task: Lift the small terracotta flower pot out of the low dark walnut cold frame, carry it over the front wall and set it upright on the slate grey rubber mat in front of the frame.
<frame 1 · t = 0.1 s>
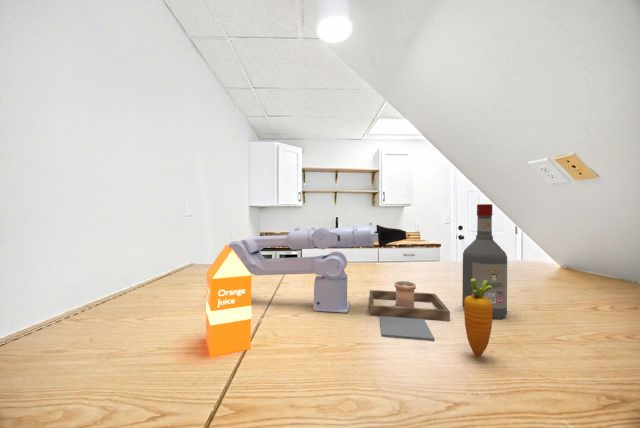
hand: (404, 234, 76), 22 cm above the worktop, tool horizontal, fingers open, 7 cm apart
carrot: (477, 358, 52), on the worktop
orange juice: (227, 344, 57), on the worktop
terracotta pot: (404, 308, 79), resting in cold frame
potting mat: (404, 328, 65), on the worktop
liquor: (483, 313, 76), on the worktop
cold frame: (404, 307, 79), on the worktop
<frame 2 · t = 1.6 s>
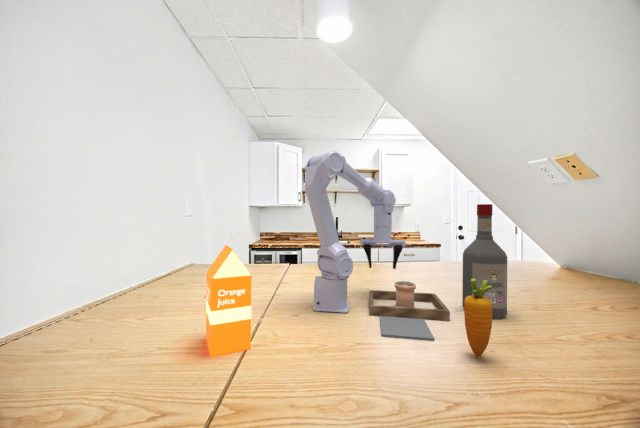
hand: (382, 268, 90), 9 cm above the worktop, tool pointing down, fingers open, 7 cm apart
nothing on the worktop moved.
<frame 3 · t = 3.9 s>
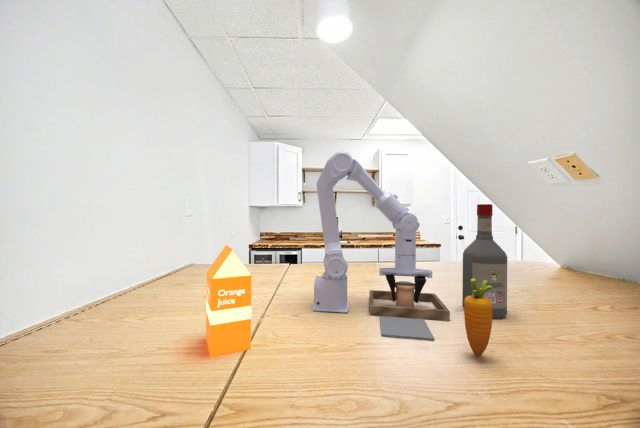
hand: (404, 301, 79), 2 cm above the worktop, tool pointing down, fingers closed on terracotta pot, 6 cm apart
terracotta pot: (404, 308, 79), resting in cold frame, touching gripper
everything else where it was.
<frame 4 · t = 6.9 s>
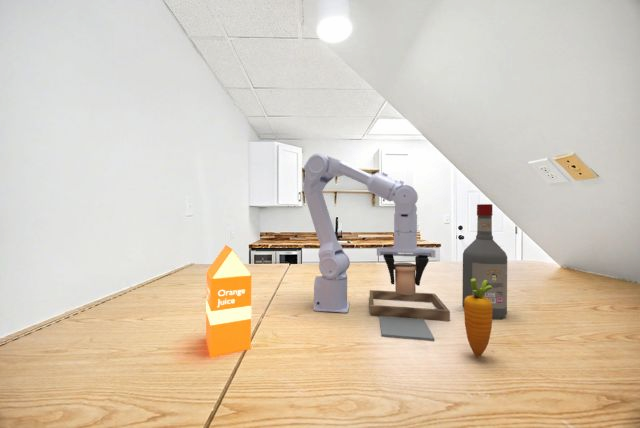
hand: (404, 284, 71), 9 cm above the worktop, tool pointing down, fingers closed on terracotta pot, 6 cm apart
terracotta pot: (405, 291, 72), point 7 cm above the worktop, touching gripper
everything else where it was.
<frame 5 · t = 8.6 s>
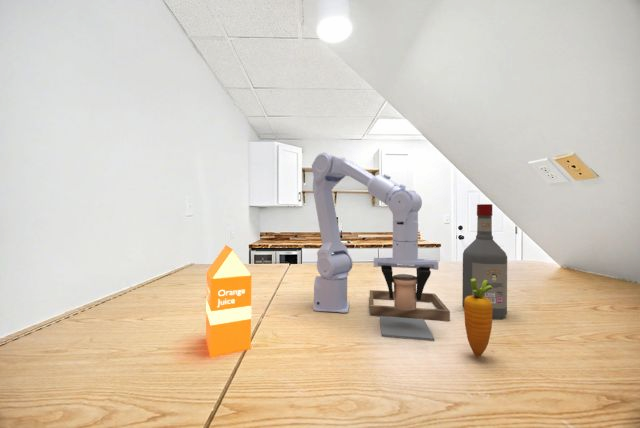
hand: (404, 298, 65), 7 cm above the worktop, tool pointing down, fingers closed on terracotta pot, 6 cm apart
terracotta pot: (405, 306, 66), point 5 cm above the worktop, touching gripper
everything else where it was.
when the fingers open (3 cm above the worktop, at t = 10.0 s): terracotta pot stays where it is, resting on potting mat.
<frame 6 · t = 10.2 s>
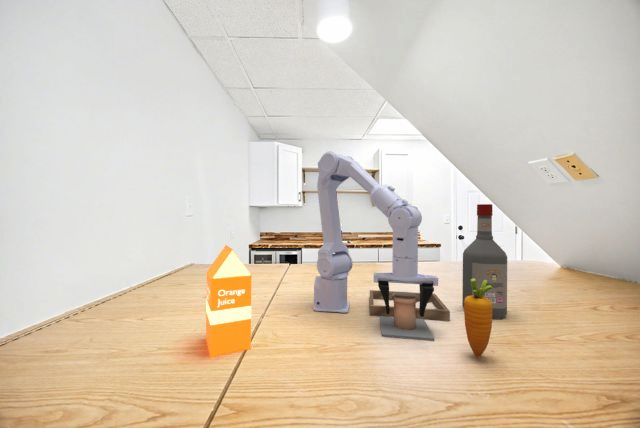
hand: (404, 314, 65), 3 cm above the worktop, tool pointing down, fingers open, 7 cm apart
terracotta pot: (404, 325, 66), point 1 cm above the worktop, touching potting mat
everything else where it was.
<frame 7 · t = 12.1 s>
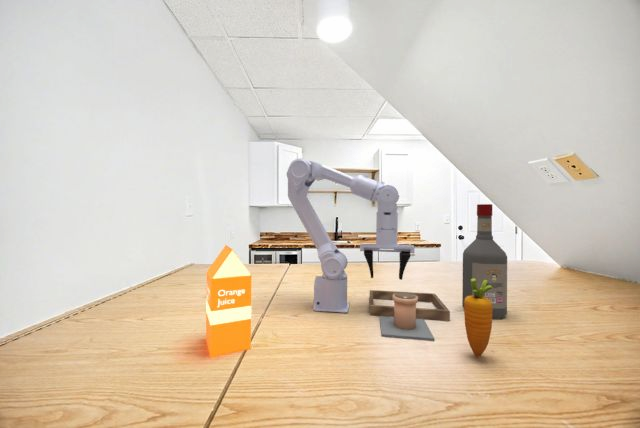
hand: (386, 278, 76), 9 cm above the worktop, tool pointing down, fingers open, 7 cm apart
nothing on the worktop moved.
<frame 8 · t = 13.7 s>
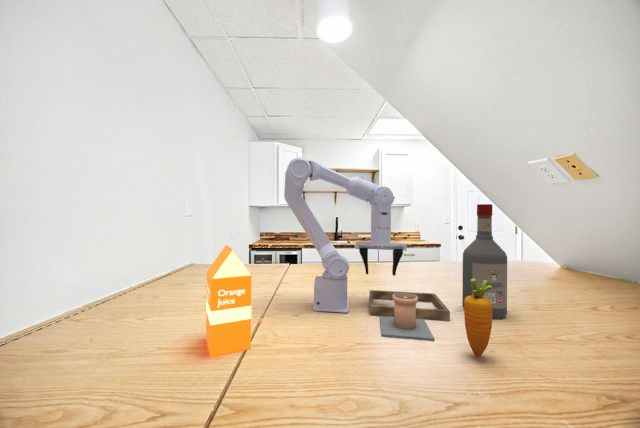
hand: (380, 274, 81), 9 cm above the worktop, tool pointing down, fingers open, 7 cm apart
nothing on the worktop moved.
at the end: terracotta pot inside the target area on the potting mat (0.6 cm from its centre), point 0.5 cm above the potting mat's base; terracotta pot tilted 0°; the gripper is holding nothing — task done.
